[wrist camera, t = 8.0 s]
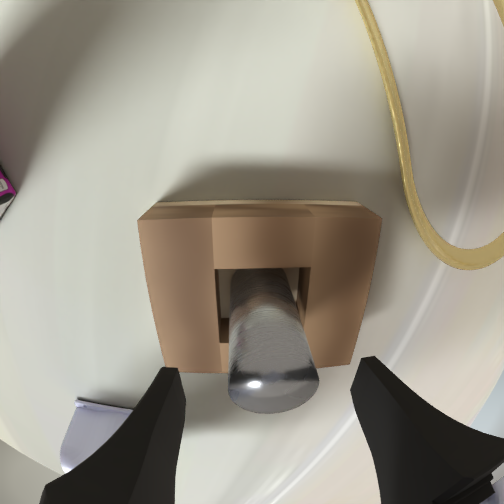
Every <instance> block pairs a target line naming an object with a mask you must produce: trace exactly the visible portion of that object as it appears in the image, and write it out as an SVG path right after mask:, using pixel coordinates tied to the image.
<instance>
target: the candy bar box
mask: <svg viewBox="0 0 504 504" xmlns="http://www.w3.org/2000/svg"><path fill="white" fill-rule="evenodd" d="M15 196H16V192H15V190H14V189H13V187H12V185H11V184H10V182H9V180H8V178H7V177H6V175H5V173H4V171H3V170H2V168H1V166H0V219H1V217H2V216H3V214H4V212H5V211H6V210H7V208H8V206H9V205H10V204H11V202H12V201H13V199H14V197H15Z"/></svg>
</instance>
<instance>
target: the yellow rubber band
mask: <svg viewBox="0 0 504 504" xmlns="http://www.w3.org/2000/svg"><path fill="white" fill-rule="evenodd" d="M355 1H356V4H357V6H358V9H359V11H360V14H361V16H362V19H363V21H364V24H365V27H366V29H367V32H368V35H369V38H370V41H371V44H372V47H373V50H374V53H375V56H376V59H377V62H378V66H379V69H380V73H381V76H382V80H383V84H384V87H385V91H386V95H387V100H388V104H389V108H390V113H391V117H392V122H393V127H394V133H395V138H396V144H397V150H398V156H399V163H400V170H401V177H402V183H403V189H404V193H405V197H406V201H407V205H408V208H409V211H410V214H411V217H412V219H413V222H414V224H415V227H416V229H417V231H418V233H419V235H420V236H421V238H422V240H423V241H424V243H425V244H426V246H427V247H428V248H429V249H430V251H431V252H432V253H433V254H434V255H435V256H436V257H437V258H438V259H440V260H441V261H443V262H444V263H446V264H447V265H449V266H451V267H454V268H457V269H462V270H475V269H480V268H484V267H486V266H489V265H491V264H492V263H494V262H496V261H497V260H499V259H500V258H502V257H503V256H504V232H503V233H502V234H501V235H500V236H499V237H498V238H497V239H495V240H494V241H493V242H491V243H489V244H488V245H486V246H483V247H480V248H477V249H461V248H457V247H455V246H452V245H450V244H449V243H447V242H446V241H445V240H443V239H442V238H441V237H440V236H439V235H438V234H437V233H436V232H435V230H434V229H433V228H432V226H431V225H430V223H429V221H428V220H427V218H426V216H425V214H424V212H423V210H422V207H421V204H420V202H419V199H418V195H417V192H416V188H415V184H414V179H413V173H412V167H411V159H410V152H409V146H408V139H407V134H406V128H405V123H404V118H403V113H402V108H401V103H400V99H399V95H398V91H397V87H396V83H395V79H394V75H393V72H392V68H391V65H390V61H389V58H388V55H387V52H386V49H385V46H384V43H383V40H382V37H381V34H380V31H379V28H378V26H377V23H376V20H375V18H374V15H373V13H372V10H371V8H370V5H369V3H368V1H367V0H355ZM493 1H494V4H495V6H496V8H497V11H498V13H499V16H500V18H501V21H502V23H503V26H504V0H493ZM369 19H370V20H369ZM377 41H378V42H377ZM378 44H379V45H378ZM379 47H380V48H379ZM384 63H385V64H384ZM388 77H389V78H388ZM402 141H403V142H402ZM406 168H407V169H406ZM407 175H408V176H407ZM415 208H416V209H415ZM417 213H418V214H417ZM424 228H425V229H424ZM433 241H434V242H433ZM440 248H441V249H440Z"/></svg>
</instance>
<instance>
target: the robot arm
mask: <svg viewBox="0 0 504 504" xmlns="http://www.w3.org/2000/svg"><path fill="white" fill-rule="evenodd" d="M350 391H351V395H352V400H353V404H354V408H355V411H356V414H357V417H358V419H359V422H360V424H361V427H362V430H363V432H364V435H365V437H366V440H367V443H368V445H369V448H370V450H371V453H372V457H373V460H374V464H375V469H376V473H377V478H378V484H379V490H380V497H381V504H504V476H503V477H502V478H500V479H499V480H498V481H497V482H495V483H494V484H493V485H492V484H491V482H490V481H491V480H492V479H493V476H492V472H493V471H494V470H495V469H497V467H499V466H500V465H501V464H502V463H504V438H500V437H496V436H493V435H489V434H486V433H483V432H480V431H478V430H475V429H472V428H470V427H468V426H466V425H464V424H462V423H460V422H458V421H456V420H454V419H452V418H450V417H449V416H447V415H445V414H444V413H442V412H441V411H439V410H438V409H436V408H434V407H433V406H432V405H430V404H429V403H428V402H426V401H425V400H424V399H422V398H421V397H420V396H419V395H417V394H416V393H415V392H414V391H412V390H411V389H410V388H409V387H408V386H407V385H406V384H404V383H403V382H402V381H401V380H400V379H399V378H398V377H397V376H396V375H395V374H393V373H392V372H391V371H390V370H389V369H388V368H387V367H386V366H385V365H384V364H383V363H382V362H381V361H380V360H378V359H377V358H376V357H375V356H371V357H365V358H361V361H360V364H359V367H358V370H357V372H356V375H355V378H354V381H353V384H352V387H351V389H350ZM74 403H75V405H76V407H77V408H76V410H75V412H74V415H73V417H72V420H71V422H70V425H69V427H68V430H67V432H66V435H65V437H64V440H63V443H62V446H61V450H60V461H61V466H62V468H63V470H64V472H65V473H66V474H64V475H62V476H61V477H59V478H57V479H55V480H53V481H52V482H50V483H48V484H46V485H45V488H44V490H43V492H42V496H41V500H40V503H39V504H175V475H176V466H177V461H178V455H179V449H180V444H181V438H182V433H183V427H184V421H185V406H186V398H185V394H184V390H183V386H182V382H181V378H180V374H179V370H178V368H175V367H162V368H161V369H160V370H159V372H158V374H157V376H156V377H155V379H154V380H153V382H152V384H151V385H150V387H149V388H148V390H147V391H146V393H145V394H144V396H143V397H142V399H141V400H140V401H139V403H138V404H137V406H136V407H135V408H134V410H131V409H124V408H118V407H112V406H106V405H100V404H95V403H90V402H85V401H81V400H75V402H74Z"/></svg>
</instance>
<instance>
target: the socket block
mask: <svg viewBox="0 0 504 504" xmlns="http://www.w3.org/2000/svg"><path fill="white" fill-rule="evenodd" d="M137 222H138V230H139V238H140V245H141V251H142V258H143V264H144V270H145V276H146V281H147V287H148V292H149V297H150V302H151V307H152V312H153V317H154V321H155V326H156V330H157V334H158V338H159V343H160V347H161V351H162V355H163V358H164V362H165V366H166V367H175V368H178V370H179V372H191V373H228V365H229V314H230V282H231V278H232V276H233V274H234V272H235V271H236V270H237V269H248V268H282V269H283V270H284V272H285V274H286V276H287V279H288V282H289V285H290V288H291V291H292V294H293V297H294V300H295V303H296V306H297V310H298V313H299V316H300V319H301V322H302V325H303V328H304V332H305V335H306V338H307V341H308V344H309V347H310V351H311V354H312V357H313V360H314V364H315V367H316V368H323V367H332V366H340V365H348V364H350V362H351V358H352V355H353V352H354V348H355V345H356V341H357V338H358V334H359V330H360V326H361V323H362V319H363V315H364V311H365V307H366V302H367V298H368V294H369V289H370V285H371V280H372V275H373V270H374V265H375V260H376V254H377V248H378V243H379V236H380V230H381V223H382V218H381V217H379V216H378V215H376V214H375V213H373V212H372V211H370V210H369V209H367V208H366V207H364V206H363V205H361V204H360V203H358V202H354V201H325V200H209V201H180V202H158V203H155V204H154V205H153V206H152V207H151V208H150V209H149V210H148V211H147V212H146V213H144V214H143V215H142V216H141V217H140V218H139V219H138V220H137Z"/></svg>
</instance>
